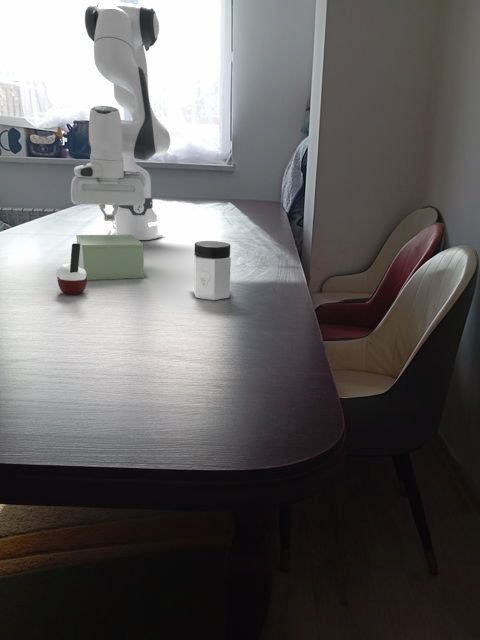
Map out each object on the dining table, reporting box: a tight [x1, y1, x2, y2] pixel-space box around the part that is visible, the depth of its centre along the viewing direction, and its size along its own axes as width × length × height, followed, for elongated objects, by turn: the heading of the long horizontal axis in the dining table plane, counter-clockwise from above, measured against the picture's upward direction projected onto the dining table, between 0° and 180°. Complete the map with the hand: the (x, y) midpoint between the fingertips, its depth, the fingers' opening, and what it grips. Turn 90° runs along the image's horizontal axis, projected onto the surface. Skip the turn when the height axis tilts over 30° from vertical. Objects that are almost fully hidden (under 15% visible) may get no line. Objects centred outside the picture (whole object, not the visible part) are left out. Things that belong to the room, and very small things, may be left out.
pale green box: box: [75, 234, 145, 281], centre depth 134 cm, size 15×15×9 cm
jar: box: [193, 240, 232, 301], centre depth 118 cm, size 9×8×12 cm
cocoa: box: [56, 242, 88, 296], centre depth 113 cm, size 10×6×12 cm, turn 12°
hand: (109, 220), depth 148 cm, fingers closed
